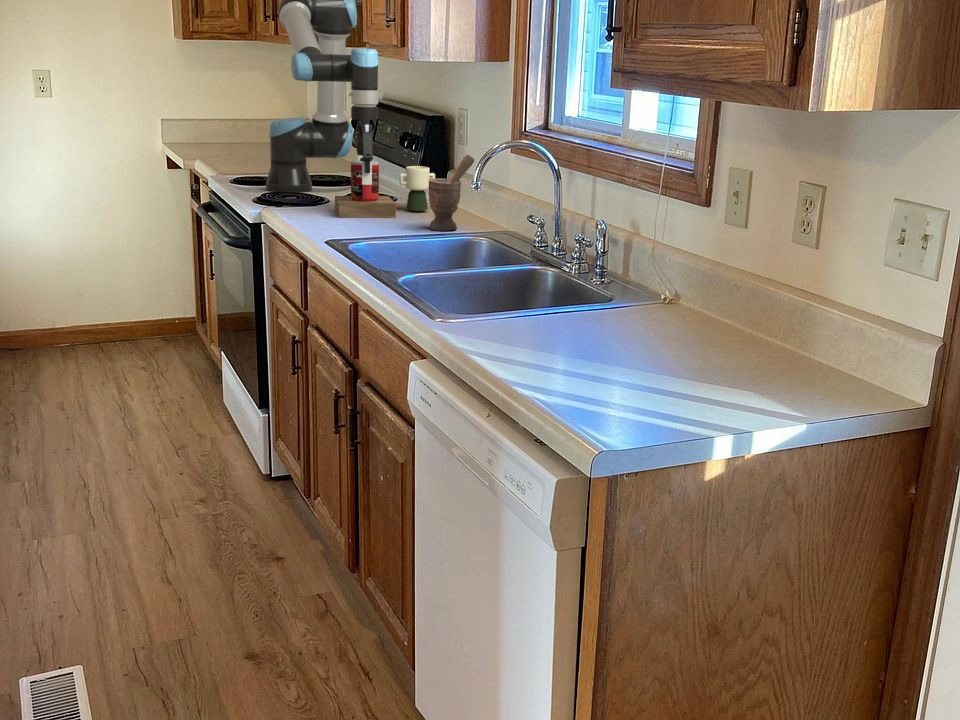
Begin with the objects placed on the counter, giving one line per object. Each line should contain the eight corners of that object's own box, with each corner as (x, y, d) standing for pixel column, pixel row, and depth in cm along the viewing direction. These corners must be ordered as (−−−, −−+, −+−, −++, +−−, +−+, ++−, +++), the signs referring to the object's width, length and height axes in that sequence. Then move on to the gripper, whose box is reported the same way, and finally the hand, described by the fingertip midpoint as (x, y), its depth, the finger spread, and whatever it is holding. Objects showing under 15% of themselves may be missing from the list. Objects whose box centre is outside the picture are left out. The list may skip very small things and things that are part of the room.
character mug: (430, 209, 304) (431, 165, 300) (438, 212, 298) (438, 168, 294) (396, 210, 301) (396, 166, 297) (402, 213, 294) (403, 168, 290)
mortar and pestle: (461, 225, 277) (463, 152, 272) (475, 230, 270) (477, 155, 264) (423, 227, 272) (424, 152, 266) (436, 232, 265) (437, 155, 259)
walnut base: (335, 209, 298) (334, 195, 297) (388, 209, 301) (388, 195, 300) (339, 217, 283) (339, 203, 282) (395, 217, 286) (395, 203, 285)
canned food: (347, 198, 292) (347, 160, 289) (373, 197, 295) (373, 159, 292) (355, 202, 286) (355, 163, 282) (382, 201, 289) (382, 162, 286)
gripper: (347, 102, 294) (347, 175, 300) (355, 108, 271) (355, 187, 277) (372, 103, 296) (372, 175, 302) (383, 108, 272) (382, 187, 279)
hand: (364, 181), depth 290 cm, fingers open, 13 cm apart
